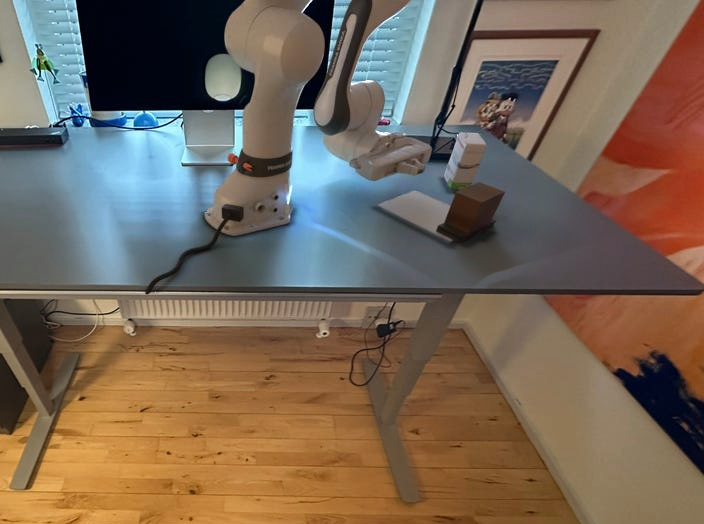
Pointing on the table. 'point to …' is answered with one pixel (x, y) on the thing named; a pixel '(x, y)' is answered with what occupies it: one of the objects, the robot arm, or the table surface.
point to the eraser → (471, 212)
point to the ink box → (464, 160)
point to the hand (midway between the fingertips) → (420, 171)
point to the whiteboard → (419, 210)
